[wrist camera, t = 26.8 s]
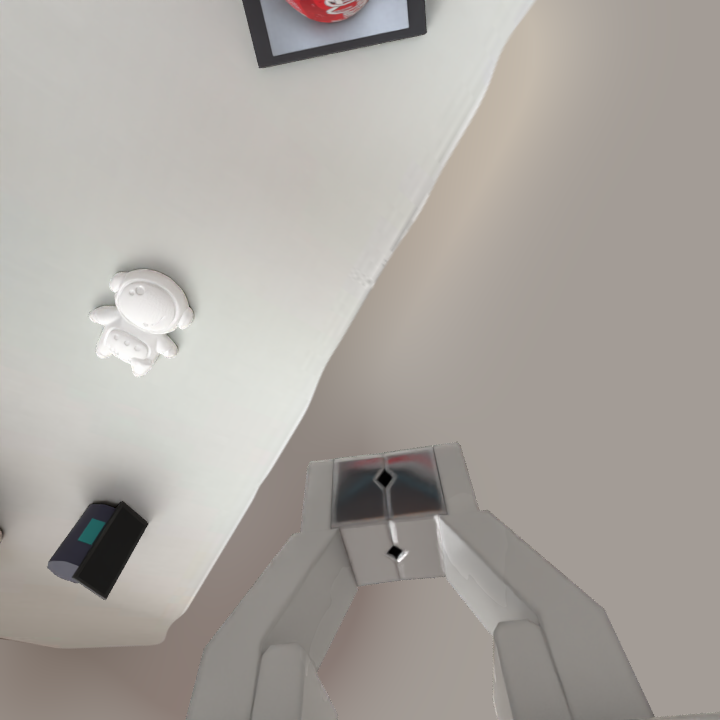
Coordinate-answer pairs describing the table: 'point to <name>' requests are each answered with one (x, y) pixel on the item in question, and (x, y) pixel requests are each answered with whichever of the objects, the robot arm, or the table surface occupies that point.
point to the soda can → (327, 9)
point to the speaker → (98, 547)
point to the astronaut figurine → (141, 319)
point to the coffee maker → (328, 29)
